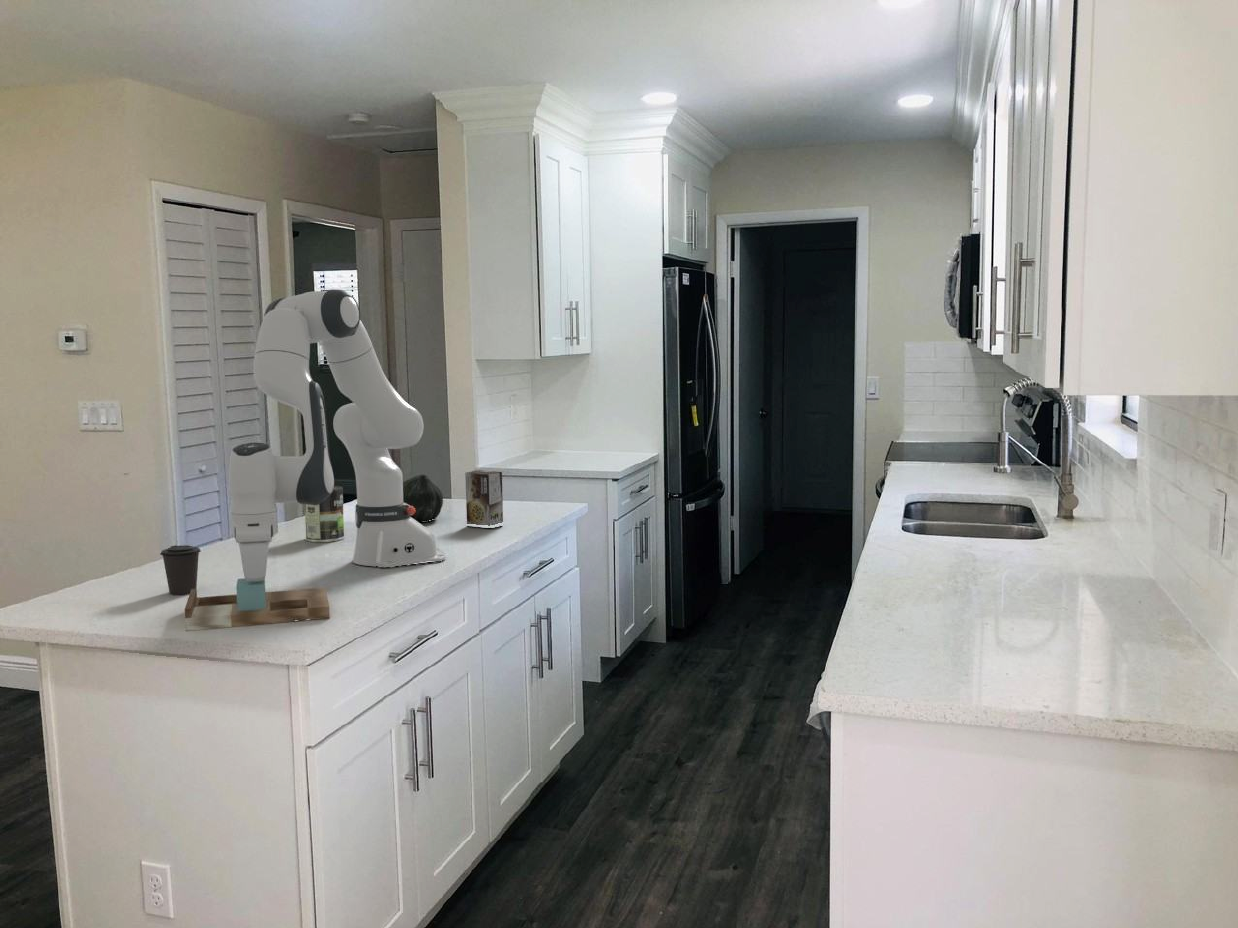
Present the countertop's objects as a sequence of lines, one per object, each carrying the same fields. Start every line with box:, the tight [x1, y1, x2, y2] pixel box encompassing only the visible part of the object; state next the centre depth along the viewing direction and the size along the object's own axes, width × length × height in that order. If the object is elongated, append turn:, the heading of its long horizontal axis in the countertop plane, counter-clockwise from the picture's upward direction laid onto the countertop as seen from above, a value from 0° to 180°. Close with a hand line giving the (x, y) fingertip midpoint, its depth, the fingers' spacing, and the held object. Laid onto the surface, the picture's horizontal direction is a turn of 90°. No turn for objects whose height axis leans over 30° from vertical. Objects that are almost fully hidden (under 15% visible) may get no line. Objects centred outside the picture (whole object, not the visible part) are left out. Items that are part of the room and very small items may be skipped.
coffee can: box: [304, 485, 345, 543], centre depth 277 cm, size 10×10×14 cm
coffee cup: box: [159, 544, 202, 596], centre depth 219 cm, size 8×8×10 cm
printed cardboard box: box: [464, 469, 504, 526], centre depth 295 cm, size 9×6×16 cm
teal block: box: [235, 577, 266, 611], centre depth 198 cm, size 5×5×5 cm
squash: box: [403, 473, 444, 522], centre depth 304 cm, size 14×15×15 cm
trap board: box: [184, 587, 331, 632], centre depth 202 cm, size 26×16×4 cm, turn 109°
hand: (257, 593), depth 203 cm, fingers closed
